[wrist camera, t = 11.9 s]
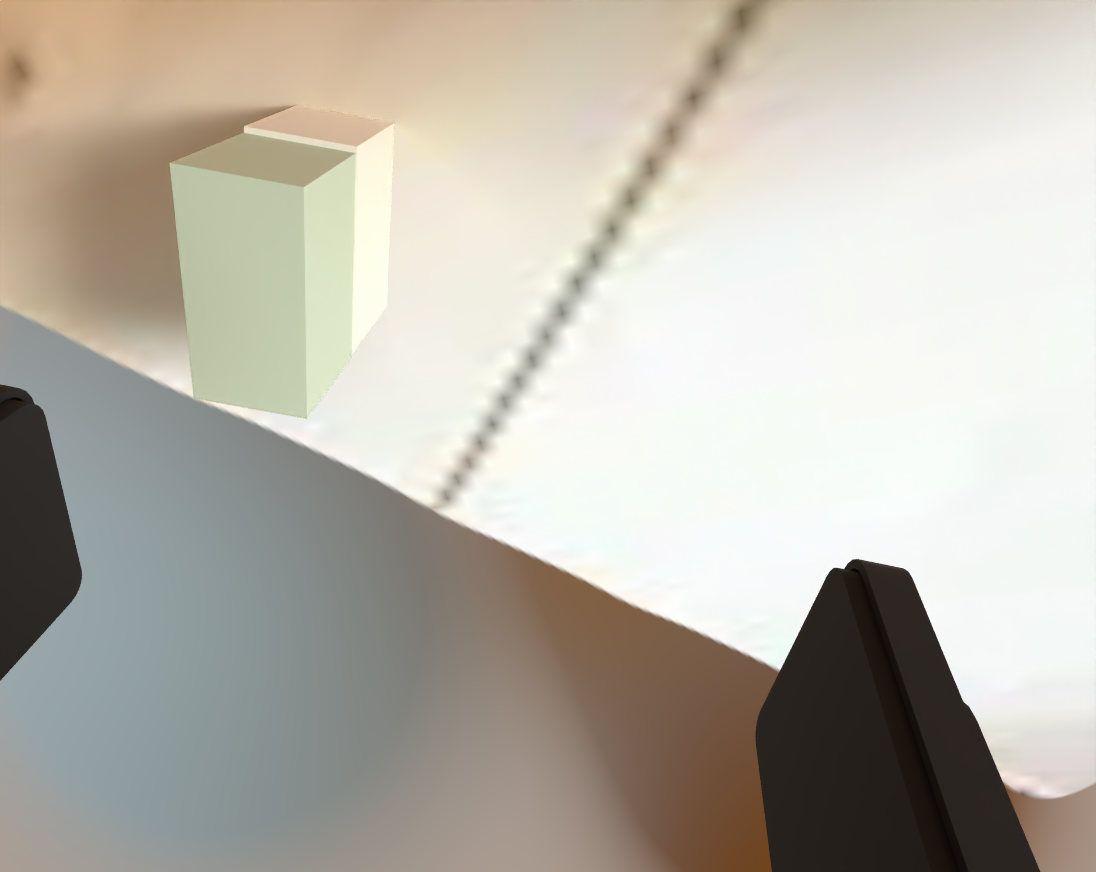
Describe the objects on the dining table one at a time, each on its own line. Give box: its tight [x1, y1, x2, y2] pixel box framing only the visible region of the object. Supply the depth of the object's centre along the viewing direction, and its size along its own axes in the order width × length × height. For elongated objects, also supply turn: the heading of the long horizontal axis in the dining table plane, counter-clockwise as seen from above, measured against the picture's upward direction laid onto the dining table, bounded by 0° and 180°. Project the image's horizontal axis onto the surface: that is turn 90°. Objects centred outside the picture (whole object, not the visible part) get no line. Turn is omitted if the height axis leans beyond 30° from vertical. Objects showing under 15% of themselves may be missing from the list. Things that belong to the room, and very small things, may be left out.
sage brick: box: [170, 133, 356, 419], centre depth 27 cm, size 8×4×5 cm, turn 171°
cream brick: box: [244, 105, 395, 353], centre depth 31 cm, size 8×4×5 cm, turn 171°
